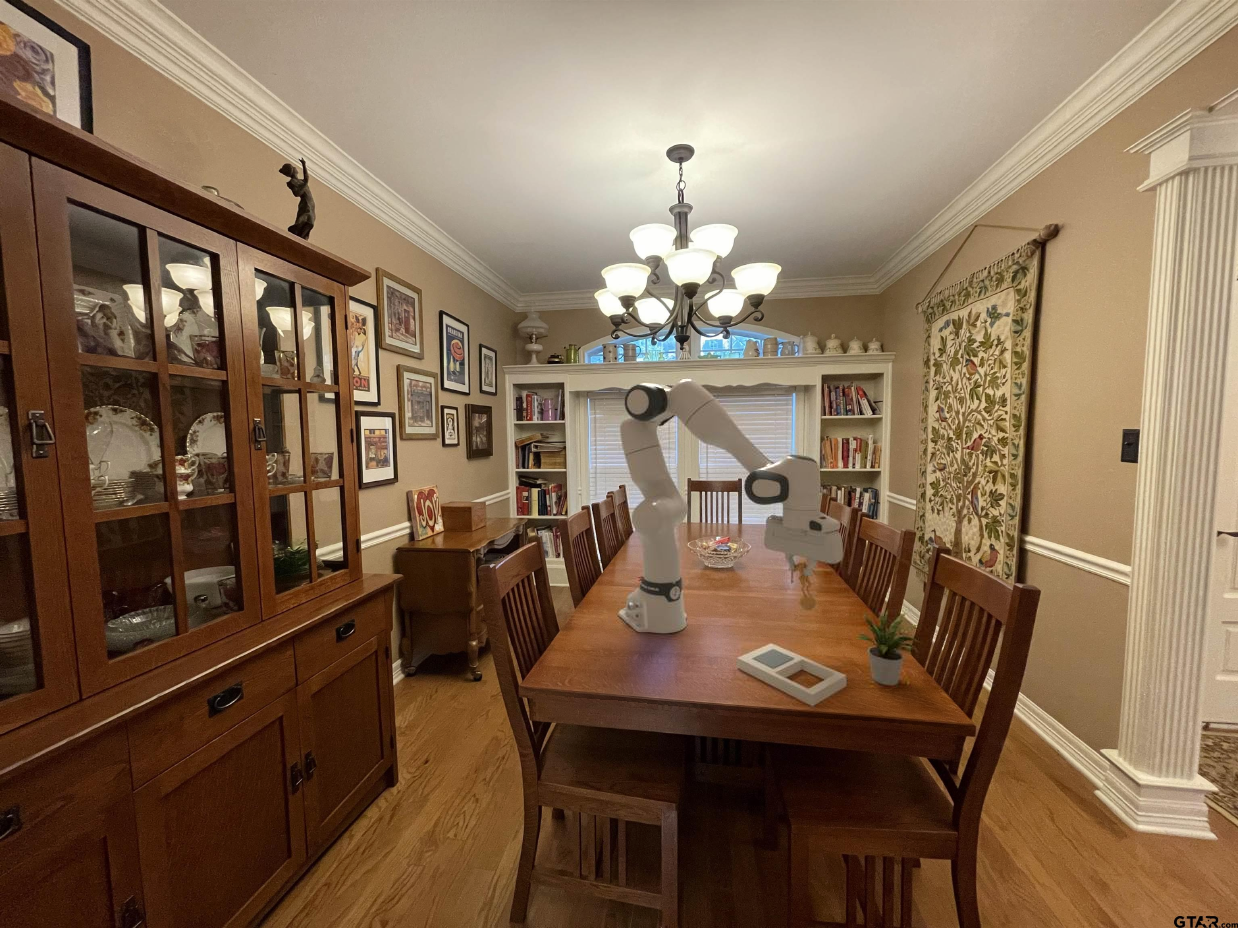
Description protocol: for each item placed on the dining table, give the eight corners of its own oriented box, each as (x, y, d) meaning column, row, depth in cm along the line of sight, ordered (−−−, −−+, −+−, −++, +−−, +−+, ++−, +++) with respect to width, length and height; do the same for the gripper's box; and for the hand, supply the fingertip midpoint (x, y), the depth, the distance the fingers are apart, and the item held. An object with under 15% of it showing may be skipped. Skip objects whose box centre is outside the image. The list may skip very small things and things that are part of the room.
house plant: (854, 692, 102) (855, 619, 101) (839, 662, 115) (840, 597, 114) (927, 700, 99) (929, 625, 98) (903, 668, 112) (905, 601, 111)
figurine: (799, 616, 115) (801, 570, 113) (783, 604, 121) (785, 561, 119) (826, 609, 118) (829, 565, 116) (809, 599, 124) (811, 556, 121)
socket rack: (737, 667, 114) (737, 656, 113) (771, 652, 121) (771, 642, 121) (812, 706, 97) (812, 693, 97) (846, 686, 105) (846, 674, 104)
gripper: (759, 515, 124) (758, 566, 125) (832, 526, 108) (831, 585, 109) (773, 512, 128) (773, 562, 129) (846, 523, 111) (845, 580, 112)
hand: (800, 573), depth 119 cm, fingers closed on figurine, 3 cm apart
